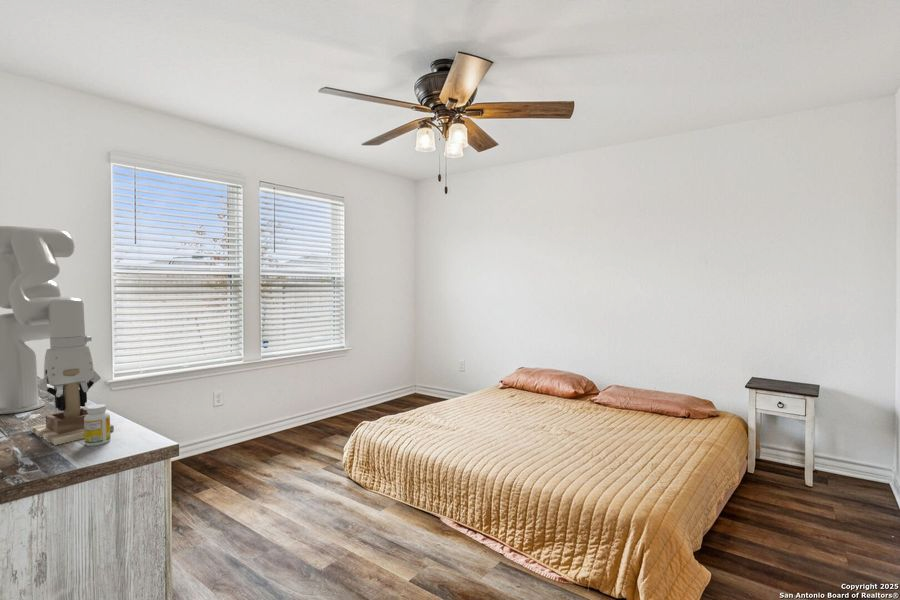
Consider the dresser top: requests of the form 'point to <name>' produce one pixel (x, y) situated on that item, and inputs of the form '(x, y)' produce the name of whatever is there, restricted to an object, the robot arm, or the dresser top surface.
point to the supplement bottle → (97, 425)
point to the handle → (71, 396)
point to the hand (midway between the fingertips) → (71, 407)
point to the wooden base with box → (63, 427)
